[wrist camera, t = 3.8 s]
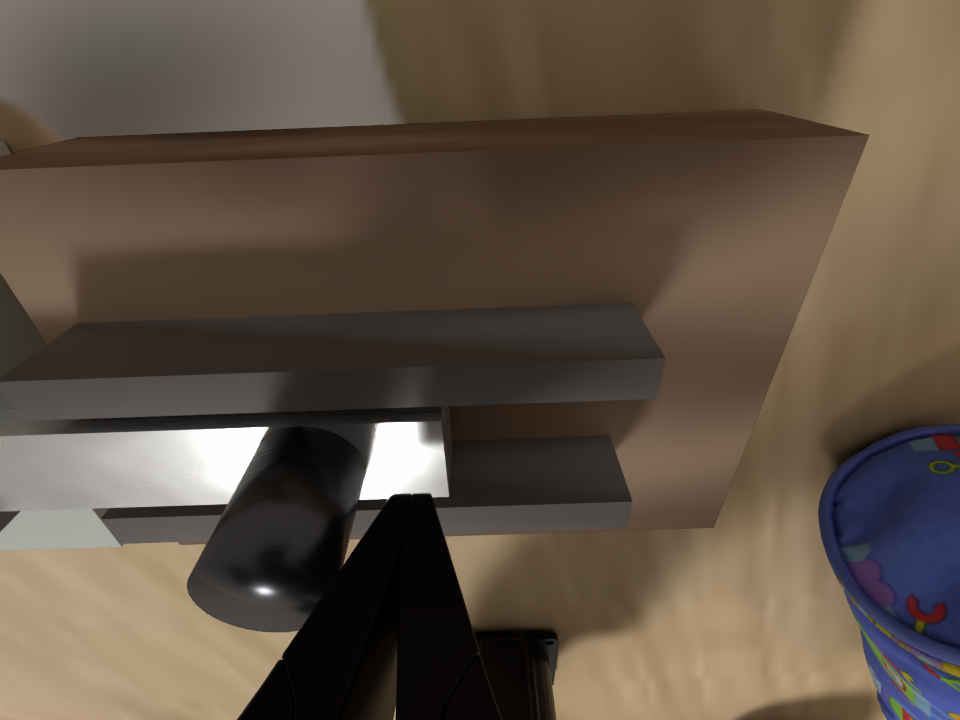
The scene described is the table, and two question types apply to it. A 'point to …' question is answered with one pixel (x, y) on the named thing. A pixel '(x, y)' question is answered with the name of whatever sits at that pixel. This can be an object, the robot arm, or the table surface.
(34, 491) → the lock bolt
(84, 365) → the door board
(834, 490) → the pencil case
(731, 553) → the table surface
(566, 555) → the table surface
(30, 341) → the block
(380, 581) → the robot arm
